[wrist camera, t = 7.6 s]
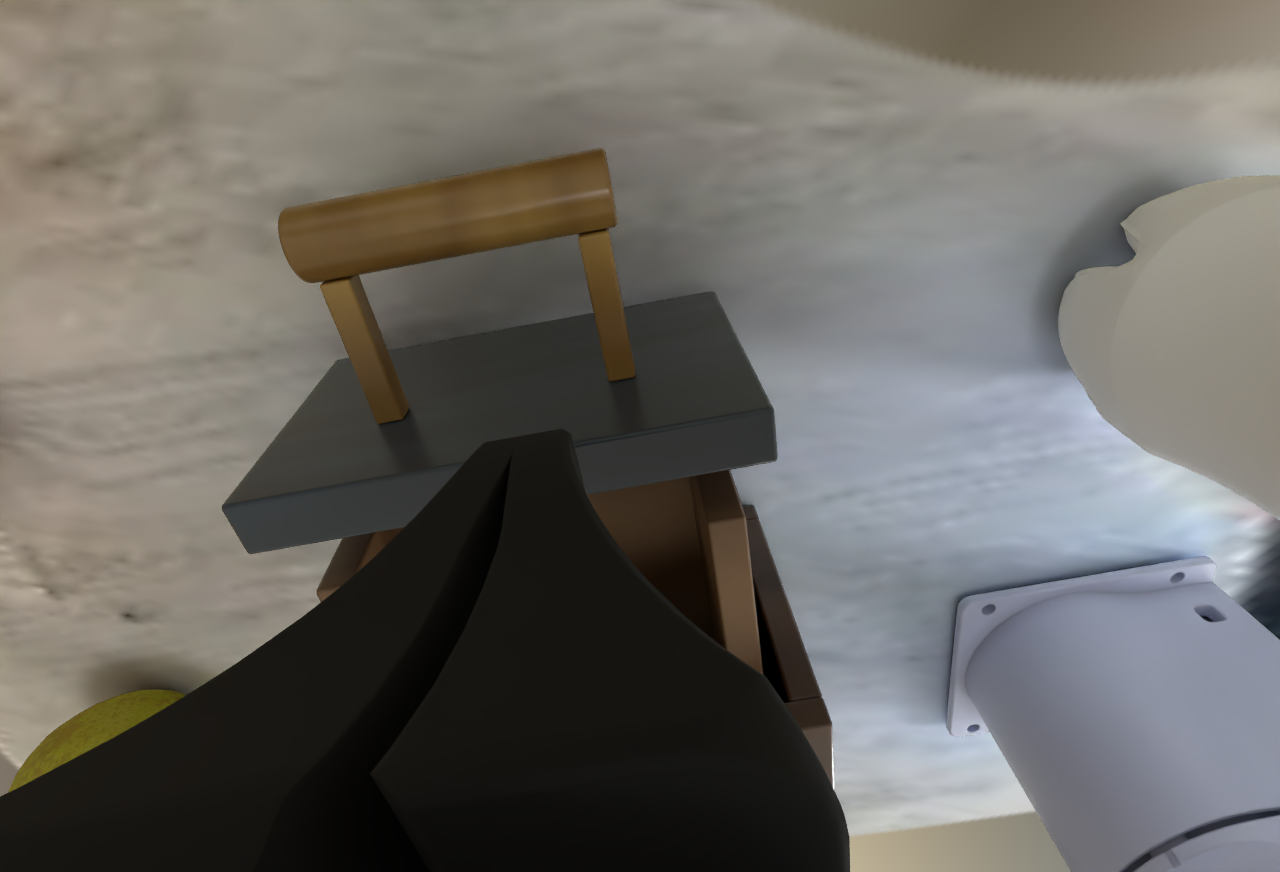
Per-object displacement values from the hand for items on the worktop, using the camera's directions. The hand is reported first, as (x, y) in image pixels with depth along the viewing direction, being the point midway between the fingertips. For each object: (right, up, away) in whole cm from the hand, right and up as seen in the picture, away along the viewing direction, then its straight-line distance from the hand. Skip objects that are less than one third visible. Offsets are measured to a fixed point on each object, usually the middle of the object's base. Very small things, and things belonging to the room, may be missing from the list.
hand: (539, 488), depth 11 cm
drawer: (-1, 0, +10) cm, 10 cm away
